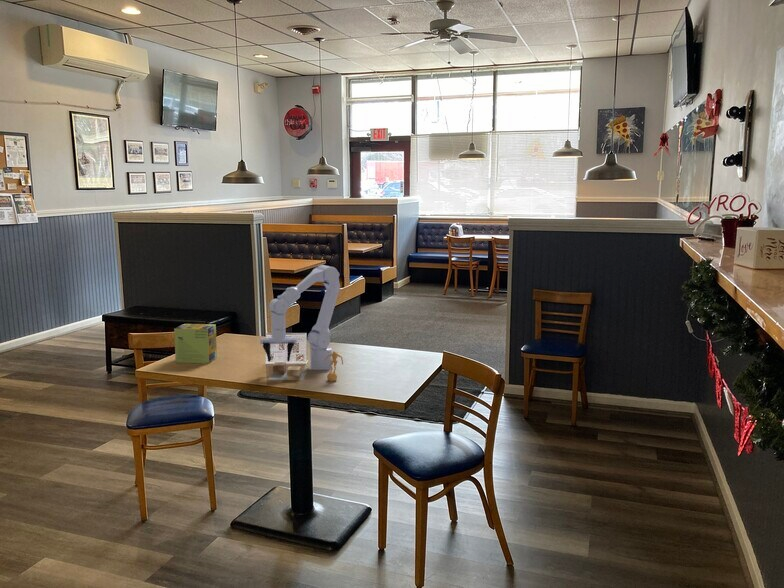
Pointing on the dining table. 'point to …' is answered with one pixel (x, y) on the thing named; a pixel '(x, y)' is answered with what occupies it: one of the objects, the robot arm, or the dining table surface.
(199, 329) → the protein box
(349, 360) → the dining table surface
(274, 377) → the mat
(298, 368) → the oak block
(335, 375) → the figurine
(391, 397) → the dining table surface
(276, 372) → the walnut block
